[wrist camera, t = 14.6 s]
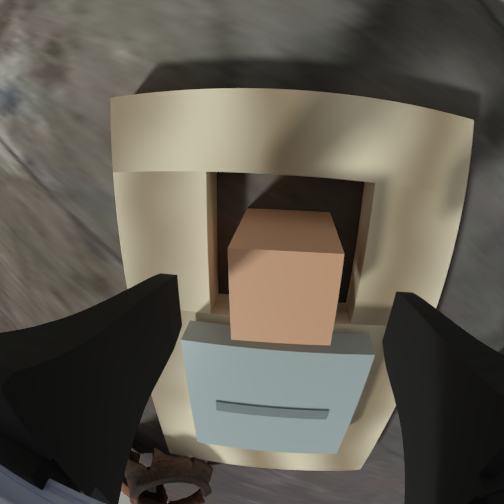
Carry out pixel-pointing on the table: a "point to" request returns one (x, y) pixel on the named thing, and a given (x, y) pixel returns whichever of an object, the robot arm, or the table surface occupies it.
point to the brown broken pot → (165, 478)
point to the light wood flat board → (298, 164)
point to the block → (284, 277)
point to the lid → (273, 389)
